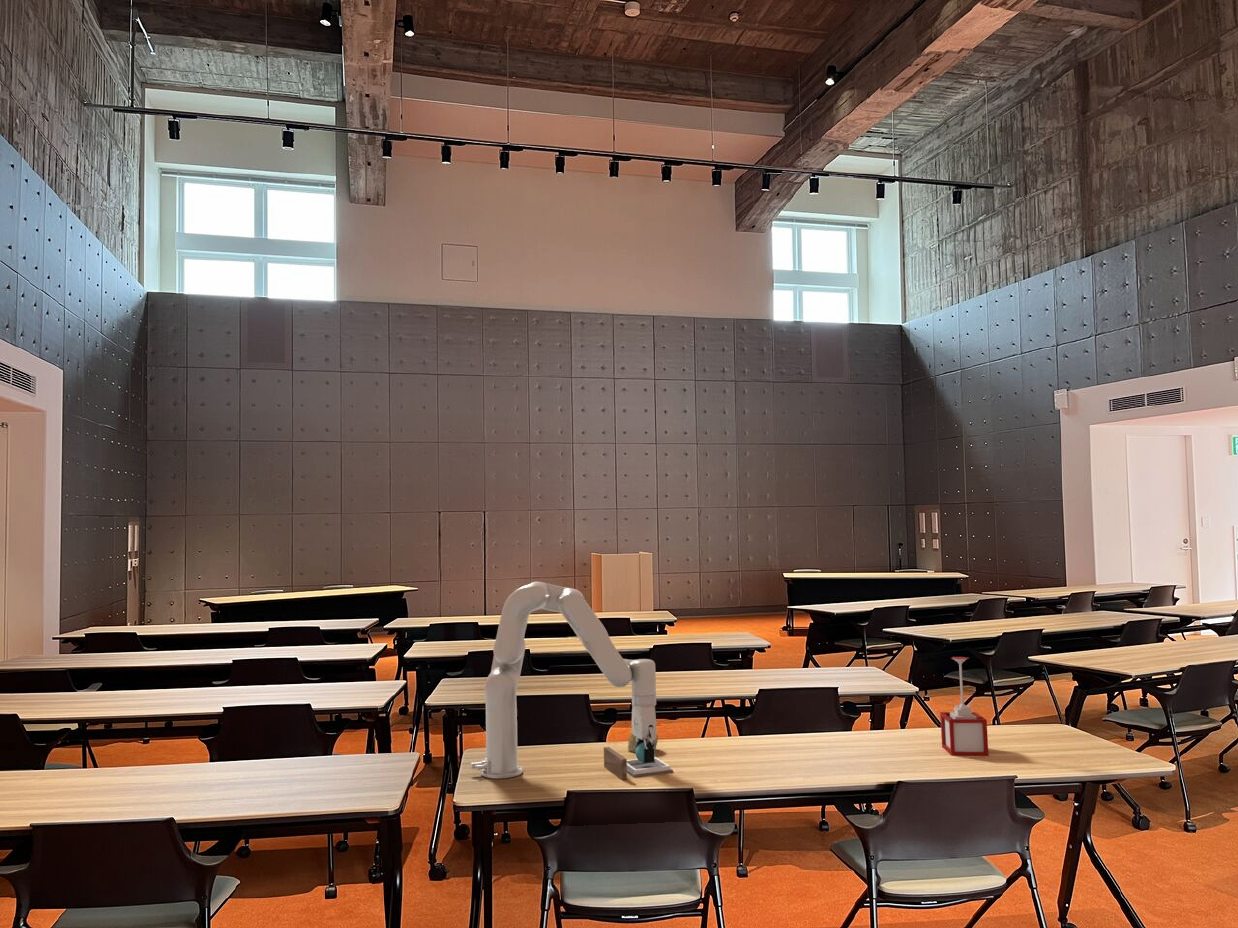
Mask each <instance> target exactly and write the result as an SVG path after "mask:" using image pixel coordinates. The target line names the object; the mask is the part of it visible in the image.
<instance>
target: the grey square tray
mask: <svg viewBox="0 0 1238 928" xmlns="http://www.w3.org/2000/svg"><path fill="white" fill-rule="evenodd" d="M670 773H671V774H672V773H674V770H673V769H672V768H671V765H669V764H668V763H666V762H665V761H663V760H661V759H659V758H658V757H656V756H654V762H648V763H643V762H641V761H639V760H638V759H637V758H634V759H628V760H627V775H628V774H629V775H630V776H631V777H633V778H638V777H640V778H641V777H648V776H655V775H662V774H670Z"/></svg>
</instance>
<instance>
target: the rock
mask: <svg viewBox="0 0 1238 928" xmlns="http://www.w3.org/2000/svg"><path fill="white" fill-rule="evenodd" d="M657 733H658V732H656V742H655V745H654V746H655V748H654V750H655V751H656V750H657V745H658V739H659V738H658V736H659V735H658V734H657ZM647 738H650V737H649V736H648V737H647ZM648 742H649V741H647V743H648ZM627 744H628V745H627V751H629V752H630V753H634V754H636V737H635V736H634V735H633V734H632V731H631V732H630V735H629V736H628V743H627Z"/></svg>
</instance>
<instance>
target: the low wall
mask: <svg viewBox="0 0 1238 928" xmlns="http://www.w3.org/2000/svg"><path fill="white" fill-rule="evenodd" d="M603 767H604V768H605V769H607V770H608V771H609V772H610V773H611V774H613V775H614V776H616V777H617V778H618V779H619V780H621V781H627V780H628V773H627V758H626V757H624V756H623V755H622V754H620V753H619V752H617V751H616V750H614V749H613V748H611V747H609V746H605V747H603Z"/></svg>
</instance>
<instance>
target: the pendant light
mask: <svg viewBox="0 0 1238 928" xmlns="http://www.w3.org/2000/svg"><path fill="white" fill-rule="evenodd" d="M968 659H969V657H965V656H952V657H951V660H954V661H955V662H957V664H958V666H959V686H960V687H959V688H960V704H956V705H955V706H953V711H949V712H948V711H946V712H945V711H943V712H941V711H940V712H939V713H940V714H939V715H940V716H939V717H940V733H941V747H942V748H943V749H944V750H945V751H946V752H947V753H948V754H949V755H950V756H954V757H955V756H957V757H959V756H960V757H964V756H965V757H969V756H970V757H972V756H973V757H989V755H990V754H989V739H988V738H989V737H988V725H987V722H988V721H987V719H986V718H985V717H984V716H982V715H981V714H979V713H977V712H973V711H972V709H971V706H970V705H966V704H965V699H964V690H963V689H964V687H963V685H964V684H963V666H962V665H963V663H964V662H965V661H966V660H968Z"/></svg>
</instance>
